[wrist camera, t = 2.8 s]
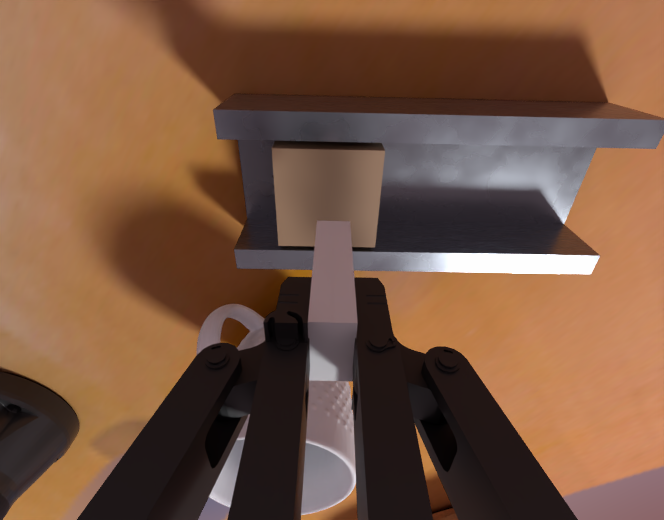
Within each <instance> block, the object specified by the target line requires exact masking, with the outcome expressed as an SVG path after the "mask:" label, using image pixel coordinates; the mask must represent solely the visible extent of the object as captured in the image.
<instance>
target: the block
mask: <svg viewBox="0 0 664 520" xmlns="http://www.w3.org/2000/svg"><path fill="white" fill-rule="evenodd" d="M384 157H385V149H384V147H383V145H382V143H368V142H322V141H276V140H275V142H274V144H273V147H272V161H273V175H274V189H275V203H276V218H277V232H278V246H315V237H316V226H317V221H350V227H351V241H352V247H375V243H376V234H377V224H378V215H379V205H380V196H381V186H382V176H383V167H384Z"/></svg>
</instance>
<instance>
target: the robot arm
mask: <svg viewBox="0 0 664 520" xmlns="http://www.w3.org/2000/svg"><path fill="white" fill-rule="evenodd" d="M263 324H264V333H265V341H264V342H263V343H261V344H259V345H257V346H255V347H252V348H248V349H244V350H238V349H237V348H236V347H235V346H234V345H231V344H229V343H216V344H212V345H210V346H208V347H206V348H204V349H203V350H202V351H201V352H200V353H199V354H198V355H197V356H196V357H195V359H194V360H193V361H192V363H191V364H190V365H189V367H188V368H187V370H186V371H185V372H184V374H183V375H182V376H181V378H180V379H179V380H178V382H177V383H176V385H175V386H174V387H173V389H172V390H171V391H170V393H169V394H168V396H167V397H166V398H165V400H164V401H163V402H162V404H161V405H160V406H159V408H158V409H157V411H156V412H155V413H154V415H153V416H152V417H151V419H150V420H149V422H148V423H147V424H146V426H145V427H144V428H143V430H142V431H141V432H140V434H139V435H138V437H137V438H136V439H135V441H134V442H133V443H132V445H131V446H130V448H129V449H128V450H127V452H126V453H125V454H124V456H123V457H122V459H121V460H120V461H119V463H118V464H117V465H116V467H115V468H114V470H113V471H112V472H111V474H110V475H109V477H108V478H107V479H106V480H105V482H104V483H103V485H102V486H101V487H100V489H99V490H98V491H97V493H96V494H95V496H94V497H93V498H92V500H91V501H90V502H89V504H88V505H87V506H86V508H85V509H84V511H83V512H82V513H81V515H80V516H79V517H78V519H77V520H198V518H199V516H200V514H201V512H202V510H203V508H204V506H205V504H206V502H207V500H208V498H209V496H210V494H211V491H212V489H213V487H214V485H215V483H216V481H217V479H218V477H219V475H220V473H221V471H222V469H223V467H224V465H225V463H226V461H227V459H228V456H229V454H230V452H231V450H232V448H233V446H234V444H235V442H236V440H237V438H238V436H239V434H240V432H241V430H242V428H243V426H244V424H245V422H246V419H247V417H248V415H249V414H250V417H249V422H248V426H247V431H246V436H245V440H244V445H243V450H242V454H241V459H240V464H239V469H238V473H237V478H236V483H235V487H234V492H233V497H232V501H231V506H230V511H229V515H228V520H301V507H302V492H303V477H304V462H305V447H306V432H307V417H308V402H309V380H310V381H353V395H352V406H351V410H353V421H354V445H355V468H356V491H357V515H358V520H433V516H432V511H431V506H430V500H429V495H428V490H427V485H426V480H425V475H424V470H423V464H422V459H421V454H420V449H419V444H418V439H417V434H416V428H415V425H416V427H417V429H418V432H419V434H420V436H421V438H422V440H423V443H424V445H425V447H426V449H427V451H428V454H429V456H430V458H431V460H432V462H433V465H434V467H435V469H436V471H437V473H438V476H439V478H440V480H441V482H442V484H443V487H444V489H445V491H446V493H447V495H448V498H449V500H450V502H451V504H452V507H453V509H454V511H455V513H456V515H457V518H458V520H578V519H577V518H576V516H575V515H574V514H573V512H572V511H571V509H570V508H569V506H568V505H567V503H566V502H565V501H564V499H563V498H562V496H561V495H560V493H559V492H558V490H557V489H556V487H555V486H554V485H553V483H552V482H551V480H550V479H549V477H548V476H547V474H546V473H545V472H544V470H543V469H542V467H541V466H540V464H539V463H538V461H537V460H536V459H535V457H534V456H533V454H532V453H531V451H530V450H529V448H528V447H527V446H526V444H525V443H524V441H523V440H522V438H521V437H520V435H519V434H518V432H517V431H516V430H515V428H514V427H513V425H512V424H511V422H510V421H509V419H508V418H507V417H506V415H505V414H504V412H503V411H502V409H501V408H500V406H499V405H498V404H497V402H496V401H495V399H494V398H493V396H492V395H491V393H490V392H489V391H488V389H487V388H486V386H485V385H484V383H483V382H482V380H481V379H480V378H479V376H478V375H477V373H476V372H475V370H474V369H473V367H472V366H471V365H470V363H469V362H468V360H467V359H466V358H465V357H464V356H463V355H462V354H461V353H460V352H458V351H456V350H454V349H452V348H448V347H434V348H432V349H430V350H429V351H428V352H427V353H426V354H425V353H421V352H418V351H414V350H411V349H409V348H406V347H405V346H403V345H402V344H400V343H399V342H398V341H397V339H396V338H395V337H394V334H393V331H392V326H391V320H390V315H389V310H388V305H387V299H386V293H385V288H384V285H383V284H382V283H381V282H380V281H379V279H378V278H354V268H353V254H352V241H351V227H350V221H317V226H316V237H315V248H314V259H313V270H312V277H288V278H287V279H286V280H285V281H284V282H283V283H282V284H281V288H280V293H279V298H278V303H277V308H276V311H273V312H271V313H270V314H269V315H268V316H267V317H266V318H265V320H264V322H263ZM78 432H79V420H78V418H77V416H76V414H75V412H74V411H73V410H72V408H71V407H70V406H69V405H68V404H67V403H66V402H65V401H64V400H62V399H61V398H60V397H59V396H57V395H56V394H54V393H53V392H51V391H49V390H48V389H46V388H44V387H42V386H40V385H38V384H36V383H34V382H31V381H29V380H27V379H24V378H21V377H18V376H15V375H11V374H8V373H3V372H0V520H3V518H4V517H5V515H6V514H7V512H8V511H9V509H10V508H11V506H12V505H13V503H14V502H15V501H16V500H17V499H18V498H19V497H20V496H21V495H22V494H23V493H24V492H25V491H26V490H27V489H28V488H29V487H30V486H31V485H32V484H33V483H34V482H35V481H36V480H37V479H38V478H39V477H40V476H41V475H42V474H43V473H44V472H45V471H46V470H47V469H48V468H49V467H50V466H51V465H52V464H53V463H54V462H56V461H57V460H58V459H60V458H61V457H62V456H63V455H64V454H65V453H66V452H67V450H68V449H69V447H70V445H71V444H72V442H73V441H74V439H75V437H76V436H77V434H78Z"/></svg>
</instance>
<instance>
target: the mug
mask: <svg viewBox="0 0 664 520" xmlns="http://www.w3.org/2000/svg"><path fill="white" fill-rule="evenodd" d="M227 317H228V318H233V319H235V320H237V321H239V322H241V323H242V324H243V325H245V327H246V328H247V329H248V330H250V332H249V333H248V334H247V335H246V337H245V338H244V339H243V340H242V341H241V343H240V345H239V346H238V347H237V349H238V350H244V349H248V348H252V347H255V346H257V345H259V344H261V343H263V342H264V341H265V333H264V324H263V322H264V320H265V319H264V318H263V317H262V316H260V315H259V314H258V313H256V312H255V311H253V310H252V309H250V308H248V307H246V306H243V305H240V304H227V305H224V306H221V307H219V308H217V309H216V310H214V311H213V312H212V313H211V314H210V315H209V316H208V317H207V318H206V320H205V321H204V323H203V325H202V327H201V330H200V333H199V337H198V342H197V355H198V354H199V353H200V352H201V351H202V350H203V349H204V348H206V347H208V346H210V345H212V344H216V343H220V336H221V330H222V325H223V323H224V321H225V319H226V318H227ZM351 406H352V399H351V396H350V386H349V383H348V381H310V380H309V402H308V417H307V432H306V447H305V462H304V477H303V492H302V507H301V515H304V514H310V513H314V512H318V511H321V510H324V509H327V508H329V507H332V506H334V505H336V504H338V503H340V502H341V501H343V500H344V499H345V498H346V497H347V496H348V495H350V493H351V492H352V490H353V489H354V487H355V484H356V468H355V445H354V421H353V412H352V410H351ZM249 417H250V414H249V415H248V417H247V419H246V422H245V424H244V426H243V428H242V430H241V432H240V434H239V436H238V438H237V440H236V442H235V444H234V446H233V448H232V450H231V452H230V454H229V456H228V459H227V461H226V463H225V465H224V467H223V469H222V471H221V473H220V475H219V477H218V479H217V481H216V483H215V485H214V487H213V489H212V491H211V494H210V496H209V498H211V499H213V500H215V501H217V502H219V503H221V504H223V505H225V506H228V507H230V506H231V501H232V497H233V492H234V487H235V483H236V478H237V473H238V469H239V464H240V459H241V454H242V450H243V445H244V440H245V436H246V431H247V426H248V422H249Z"/></svg>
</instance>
